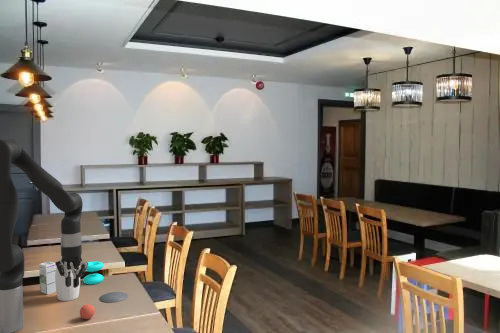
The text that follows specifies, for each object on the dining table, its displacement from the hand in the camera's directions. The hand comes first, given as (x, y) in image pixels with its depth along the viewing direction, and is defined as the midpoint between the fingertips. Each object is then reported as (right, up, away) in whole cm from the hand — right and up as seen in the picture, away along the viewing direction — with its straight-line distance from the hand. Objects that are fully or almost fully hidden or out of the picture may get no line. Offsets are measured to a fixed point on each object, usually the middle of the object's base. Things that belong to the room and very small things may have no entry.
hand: (72, 286), depth 169 cm
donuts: (-12, -14, +56) cm, 59 cm away
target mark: (+5, -15, +34) cm, 38 cm away
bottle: (-16, -15, +33) cm, 40 cm away
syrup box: (-29, -14, +41) cm, 52 cm away
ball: (+2, -13, +10) cm, 17 cm away
